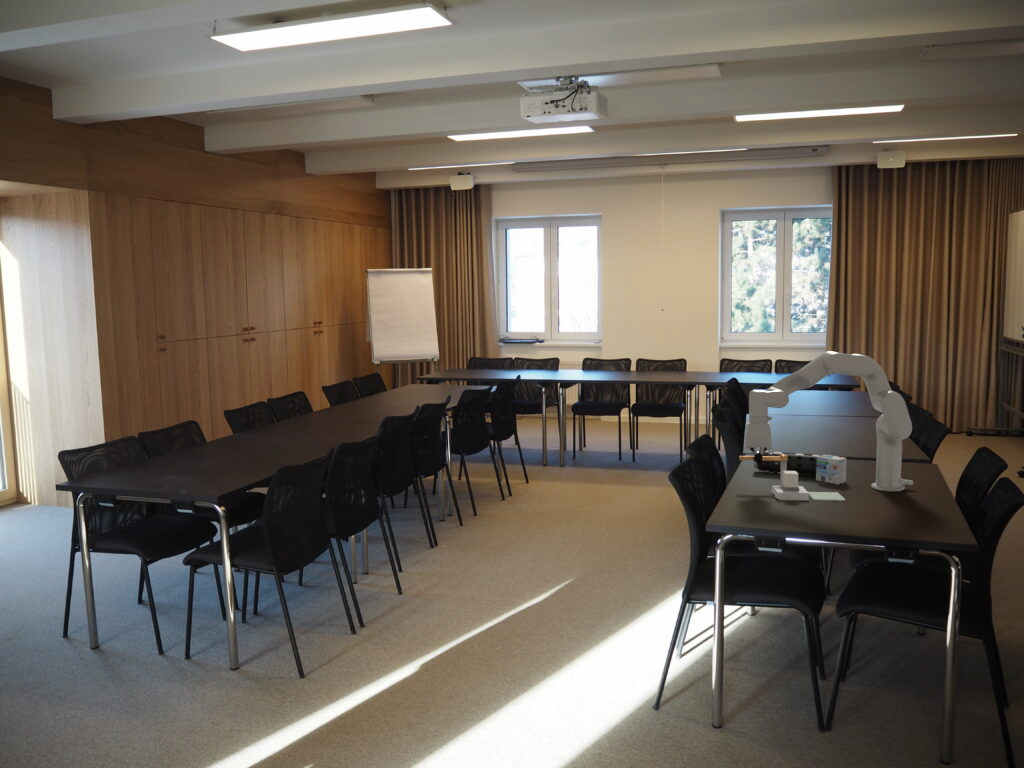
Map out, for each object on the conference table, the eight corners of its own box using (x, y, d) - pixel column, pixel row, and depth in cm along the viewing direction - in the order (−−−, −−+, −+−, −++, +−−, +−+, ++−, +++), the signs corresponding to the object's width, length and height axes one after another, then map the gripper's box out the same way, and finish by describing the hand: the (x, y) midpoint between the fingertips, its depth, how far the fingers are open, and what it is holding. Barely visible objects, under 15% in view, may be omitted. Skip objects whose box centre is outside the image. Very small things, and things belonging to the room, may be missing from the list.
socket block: (796, 487, 358) (797, 459, 356) (808, 500, 336) (809, 470, 335) (767, 487, 359) (768, 459, 358) (777, 499, 338) (778, 470, 336)
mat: (837, 493, 346) (837, 492, 346) (845, 501, 335) (845, 499, 335) (807, 493, 348) (807, 491, 348) (813, 500, 336) (813, 499, 336)
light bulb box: (815, 480, 371) (816, 456, 370) (823, 478, 375) (824, 454, 374) (838, 484, 363) (839, 459, 361) (846, 482, 367) (847, 457, 366)
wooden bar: (786, 459, 357) (787, 454, 357) (788, 461, 354) (788, 456, 353) (739, 459, 359) (739, 454, 359) (740, 460, 356) (740, 455, 356)
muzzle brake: (818, 479, 373) (818, 456, 372) (752, 473, 386) (753, 451, 384) (820, 475, 382) (821, 452, 380) (757, 469, 394) (757, 447, 393)
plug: (795, 495, 345) (796, 470, 344) (798, 498, 340) (799, 473, 339) (781, 494, 346) (781, 470, 345) (783, 498, 340) (784, 473, 339)
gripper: (775, 418, 355) (775, 461, 357) (738, 418, 357) (738, 461, 359) (778, 421, 348) (778, 465, 350) (741, 421, 349) (741, 465, 352)
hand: (758, 463), depth 354 cm, fingers closed
